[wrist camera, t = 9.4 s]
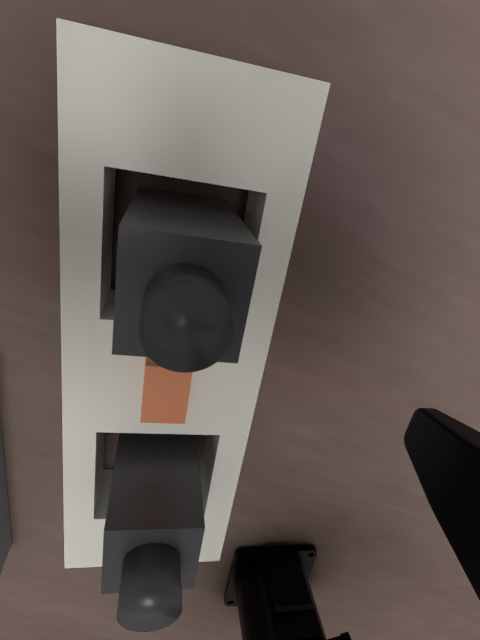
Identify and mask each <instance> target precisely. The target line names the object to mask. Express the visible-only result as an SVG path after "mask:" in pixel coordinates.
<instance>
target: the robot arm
mask: <svg viewBox="0 0 480 640" xmlns="http://www.w3.org/2000/svg"><path fill="white" fill-rule="evenodd" d="M0 433H1V418H0ZM404 443H405V447H406V449H407V452H408V454H409V456H410V459H411V461H412V464H413V466H414V468H415V471H416V473H417V476H418V478H419V480H420V483H421V485H422V488H423V490H424V492H425V495H426V497H427V499H428V502H429V504H430V506H431V508H432V510H433V512H434V514H435V516H436V518H437V520H438V522H439V524H440V526H441V528H442V530H443V531H444V533H445V535H446V537H447V539H448V541H449V543H450V545H451V547H452V549H453V550H454V552H455V554H456V556H457V558H458V560H459V562H460V564H461V566H462V568H463V569H464V571H465V573H466V575H467V577H468V579H469V581H470V583H471V585H472V587H473V589H474V590H475V592H476V594H477V596H478V598H479V600H480V432H478V431H476V430H475V429H473V428H471V427H469V426H467V425H465V424H463V423H461V422H459V421H457V420H456V419H454V418H452V417H450V416H448V415H446V414H444V413H442V412H440V411H438V410H436V409H433V408H419V409H417V410H416V411H415V412H414V414H413V416H412V418H411V421H410V423H409V425H408V428H407V430H406V432H405V435H404ZM316 556H317V551H316V548H315V547H314V546H291V547H267V548H243V549H239V550H237V551H236V553H235V556H234V560H233V564H232V568H231V572H230V576H229V580H228V583H227V587H226V591H225V595H224V604H225V605H226V606H238V612H239V619H240V626H241V633H242V640H351V638H350V635H349V633H348V632H345V633H342V634H340V636H337V637H334V638H331V639H326V636H325V633H324V630H323V626H322V623H321V620H320V617H319V614H318V610H317V607H316V604H315V601H314V597H313V594H312V591H311V588H310V584H309V581H308V577H309V574H310V572H311V569H312V567H313V564H314V561H315V559H316Z"/></svg>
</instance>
